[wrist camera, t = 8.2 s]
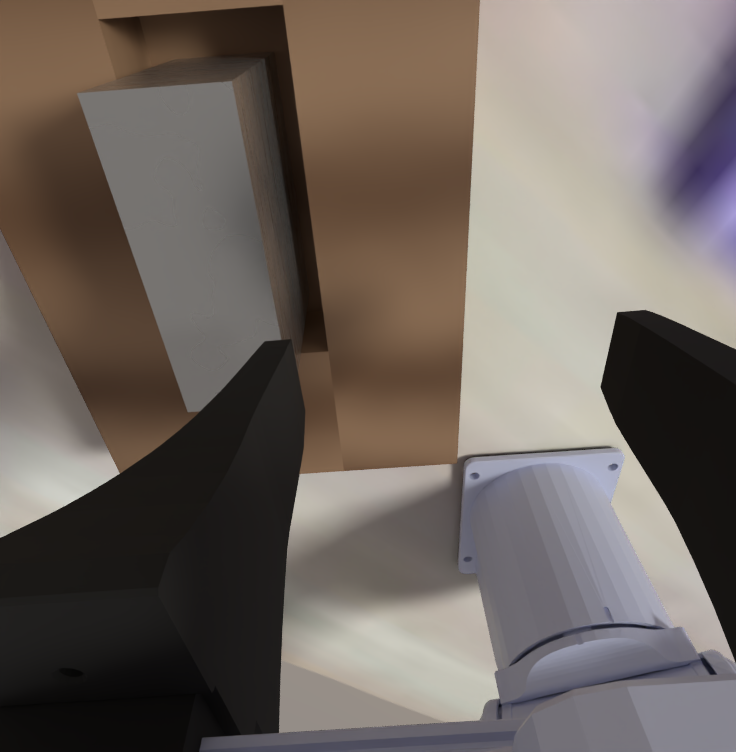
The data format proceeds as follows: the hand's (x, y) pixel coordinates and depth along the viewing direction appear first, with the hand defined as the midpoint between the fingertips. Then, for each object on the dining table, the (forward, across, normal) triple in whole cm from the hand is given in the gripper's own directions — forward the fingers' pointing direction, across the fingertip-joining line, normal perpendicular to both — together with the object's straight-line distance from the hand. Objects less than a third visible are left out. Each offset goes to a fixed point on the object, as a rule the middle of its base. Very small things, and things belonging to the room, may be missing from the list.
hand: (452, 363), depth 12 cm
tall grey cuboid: (+9, +6, -2) cm, 11 cm away
